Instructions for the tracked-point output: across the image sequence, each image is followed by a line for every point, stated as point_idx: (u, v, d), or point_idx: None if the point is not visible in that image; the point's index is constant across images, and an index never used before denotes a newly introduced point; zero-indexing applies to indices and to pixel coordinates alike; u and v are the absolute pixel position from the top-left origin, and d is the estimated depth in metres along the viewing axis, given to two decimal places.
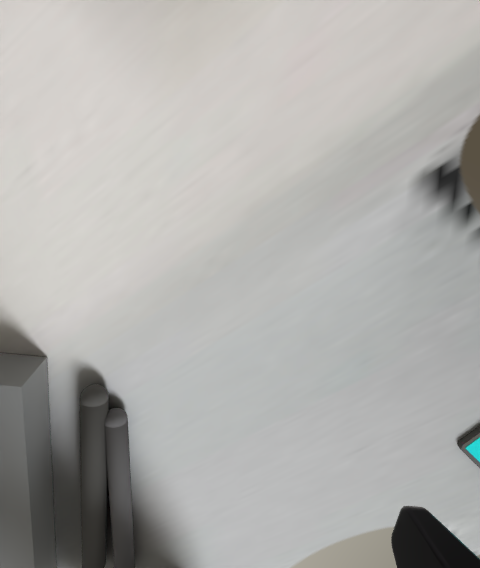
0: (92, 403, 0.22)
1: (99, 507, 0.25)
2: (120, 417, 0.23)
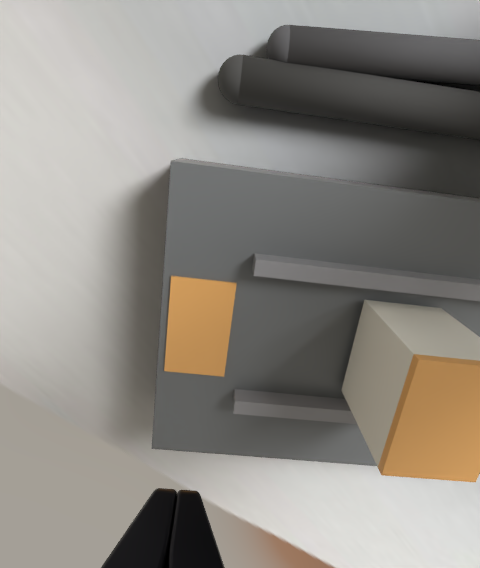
0: (235, 71, 0.13)
1: (461, 94, 0.14)
2: (276, 32, 0.13)
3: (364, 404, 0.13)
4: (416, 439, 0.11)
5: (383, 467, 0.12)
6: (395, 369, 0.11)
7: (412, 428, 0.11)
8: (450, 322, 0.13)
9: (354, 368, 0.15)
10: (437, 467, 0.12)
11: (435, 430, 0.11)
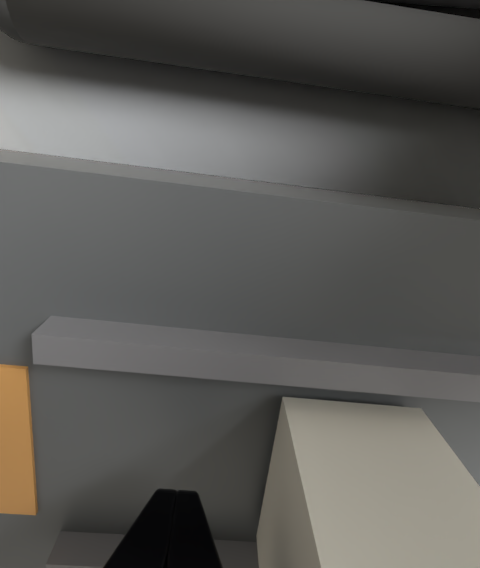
0: None
1: (432, 18, 0.07)
2: None
3: None
4: None
5: None
6: None
7: None
8: (436, 454, 0.07)
9: (267, 516, 0.08)
10: None
11: None
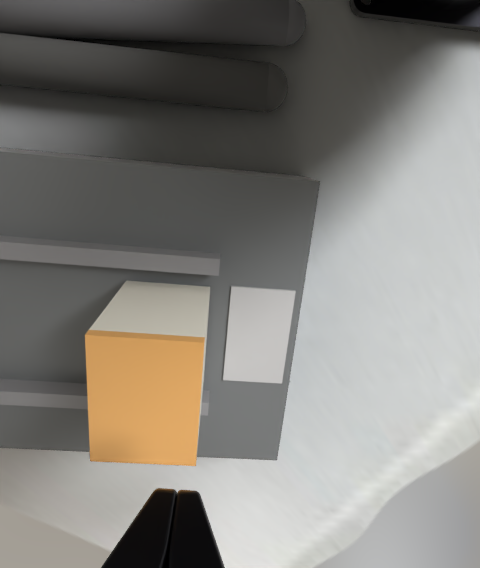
0: None
1: (92, 49, 0.13)
2: None
3: None
4: (113, 421, 0.11)
5: (90, 452, 0.11)
6: None
7: (104, 409, 0.10)
8: (197, 299, 0.13)
9: None
10: (148, 451, 0.11)
11: (131, 411, 0.10)
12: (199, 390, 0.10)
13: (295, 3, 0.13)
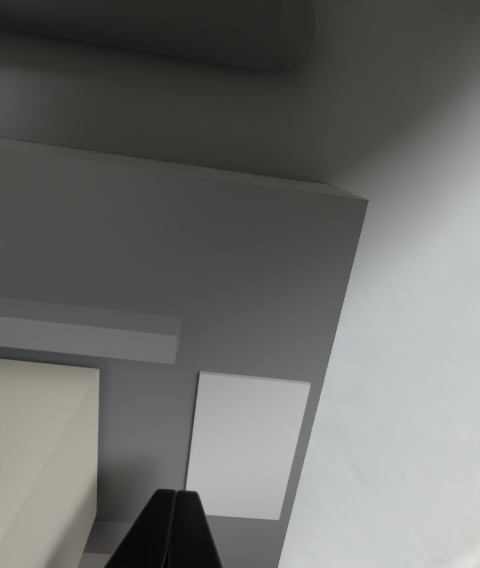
0: None
1: None
2: None
3: None
4: None
5: None
6: None
7: None
8: (50, 410, 0.06)
9: None
10: None
11: None
12: None
13: None
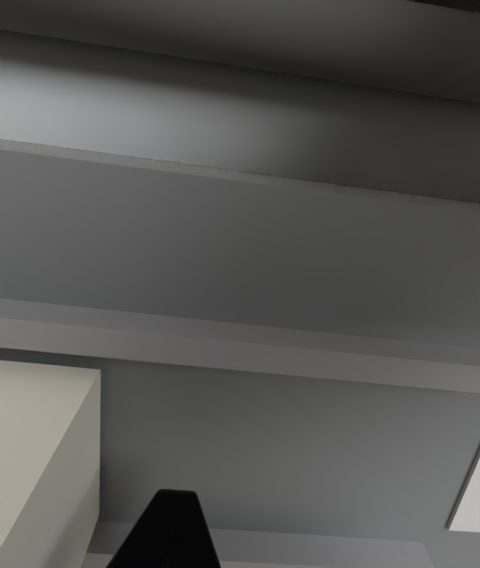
0: None
1: None
2: None
3: None
4: None
5: None
6: None
7: None
8: (52, 411, 0.06)
9: None
10: None
11: None
12: None
13: None
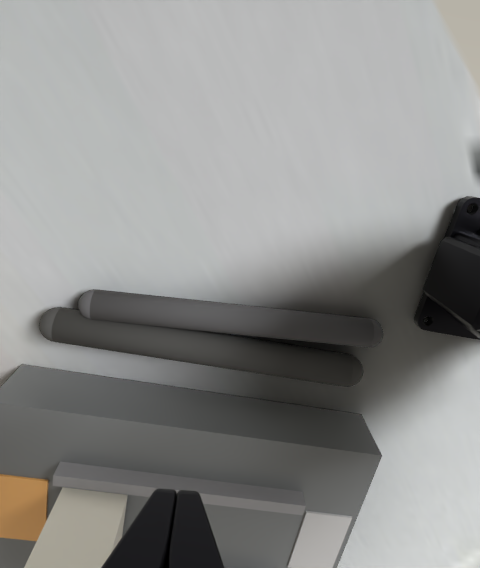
0: (47, 328, 0.17)
1: (229, 347, 0.18)
2: (82, 298, 0.17)
3: None
4: None
5: None
6: None
7: None
8: (111, 520, 0.17)
9: None
10: None
11: None
12: None
13: (378, 330, 0.18)
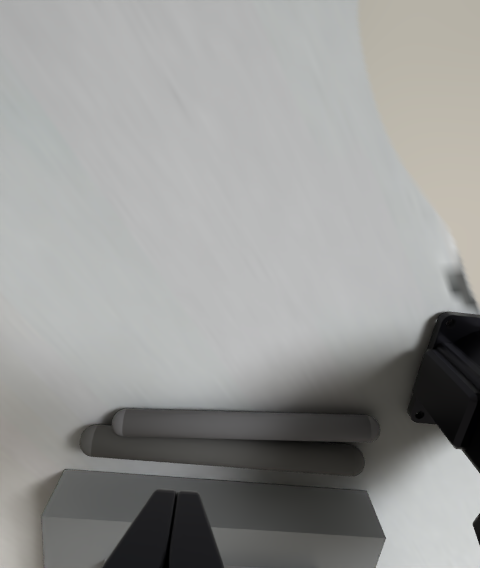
0: (87, 448, 0.20)
1: (245, 452, 0.20)
2: (115, 420, 0.20)
3: None
4: None
5: None
6: None
7: None
8: None
9: None
10: None
11: None
12: None
13: (375, 429, 0.20)
